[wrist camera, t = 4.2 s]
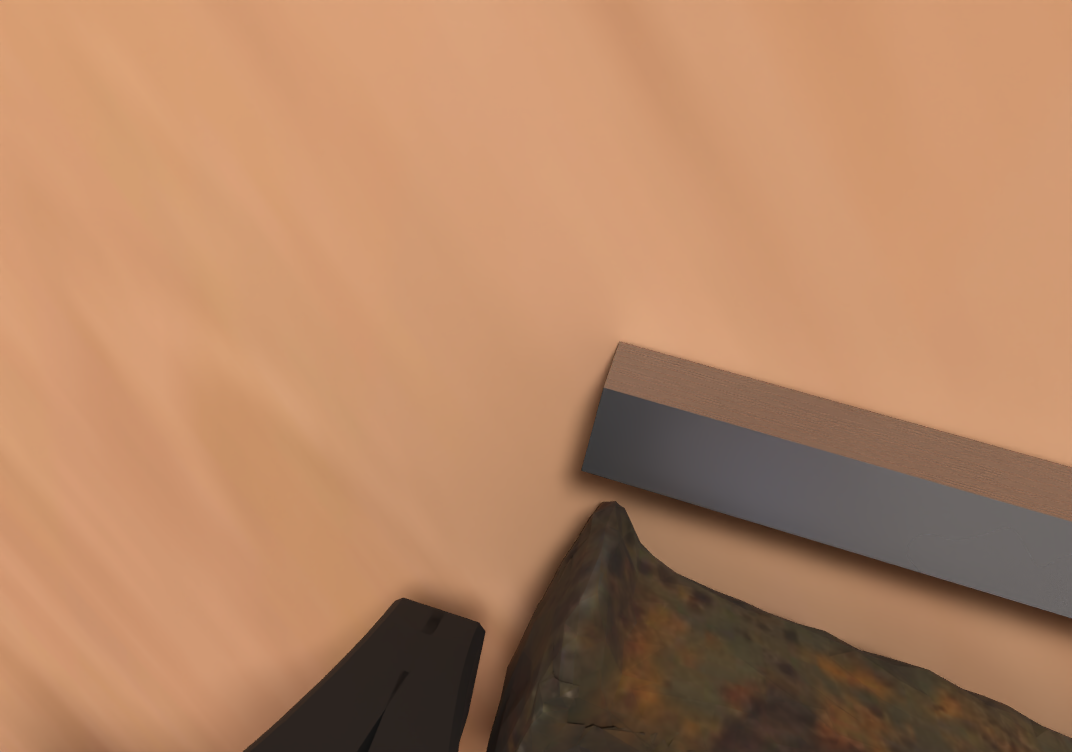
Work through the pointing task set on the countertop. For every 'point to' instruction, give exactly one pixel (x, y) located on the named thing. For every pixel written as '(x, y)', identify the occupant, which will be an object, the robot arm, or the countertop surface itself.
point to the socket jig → (838, 476)
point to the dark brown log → (717, 673)
